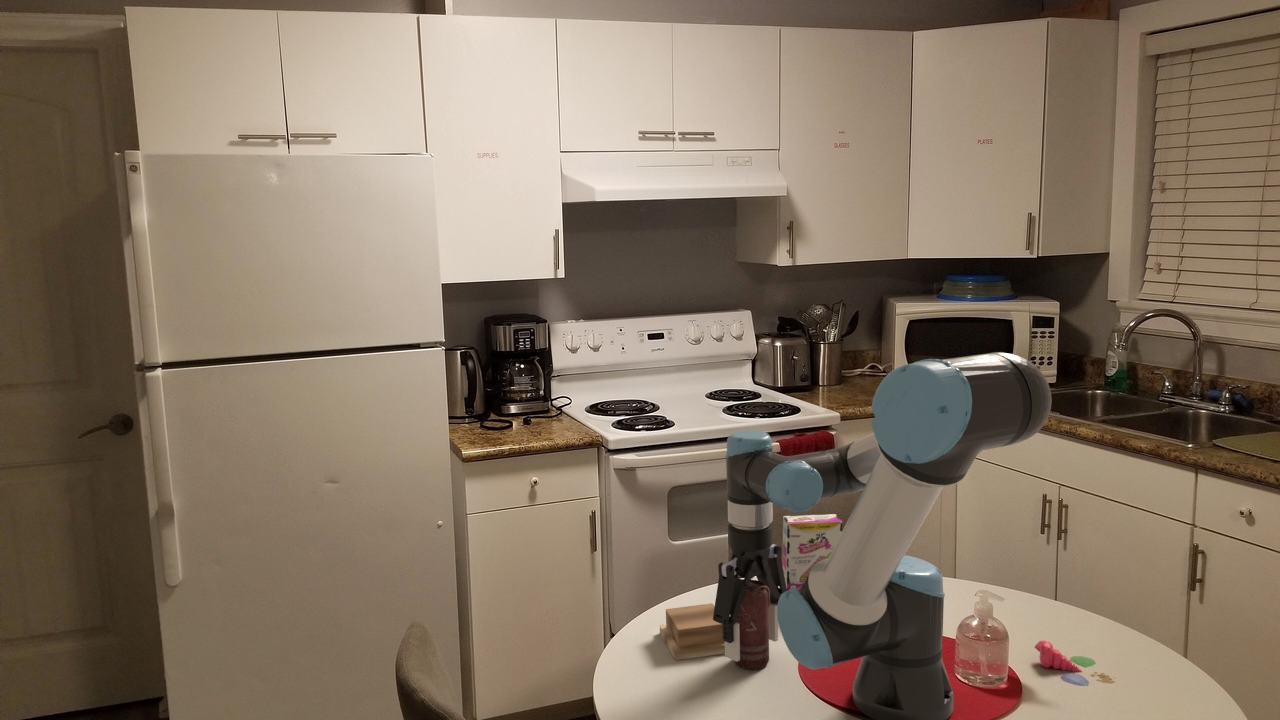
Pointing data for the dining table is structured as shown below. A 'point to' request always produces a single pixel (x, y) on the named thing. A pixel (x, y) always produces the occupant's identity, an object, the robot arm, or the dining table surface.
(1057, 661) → the toy pieces
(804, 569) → the candy bar box
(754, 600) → the can
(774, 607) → the robot arm
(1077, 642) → the dining table surface
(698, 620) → the stand
